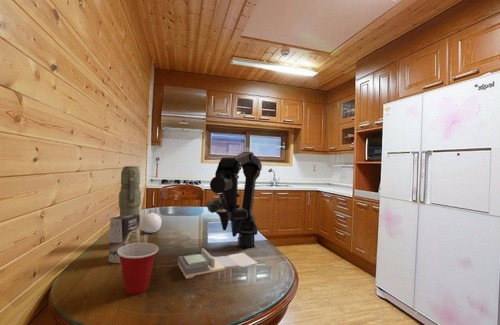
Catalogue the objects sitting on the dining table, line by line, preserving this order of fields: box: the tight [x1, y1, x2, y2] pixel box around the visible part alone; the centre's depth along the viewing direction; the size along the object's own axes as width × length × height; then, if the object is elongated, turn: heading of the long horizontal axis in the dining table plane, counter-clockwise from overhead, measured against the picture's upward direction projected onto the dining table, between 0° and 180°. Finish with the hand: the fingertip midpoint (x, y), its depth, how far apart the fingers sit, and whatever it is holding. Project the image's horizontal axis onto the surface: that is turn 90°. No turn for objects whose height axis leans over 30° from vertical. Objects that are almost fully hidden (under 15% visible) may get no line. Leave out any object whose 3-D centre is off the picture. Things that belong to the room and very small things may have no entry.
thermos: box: [118, 165, 142, 243], centre depth 110 cm, size 9×12×35 cm
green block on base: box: [184, 248, 215, 268], centre depth 85 cm, size 8×12×4 cm, turn 28°
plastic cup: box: [117, 242, 159, 296], centre depth 70 cm, size 11×11×12 cm
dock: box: [177, 252, 258, 280], centre depth 89 cm, size 26×12×3 cm, turn 118°
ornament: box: [140, 209, 163, 234], centre depth 131 cm, size 10×10×12 cm
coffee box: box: [108, 214, 141, 264], centre depth 94 cm, size 9×6×16 cm
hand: (229, 233), depth 91 cm, fingers open, 9 cm apart
